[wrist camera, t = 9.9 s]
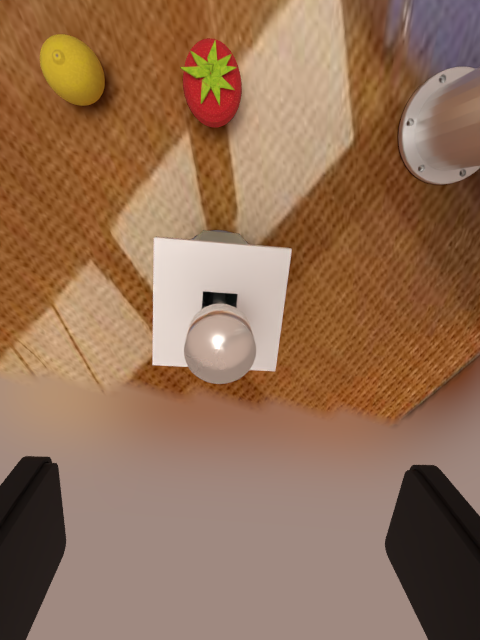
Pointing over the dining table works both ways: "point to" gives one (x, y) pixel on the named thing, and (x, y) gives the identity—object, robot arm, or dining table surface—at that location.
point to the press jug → (217, 290)
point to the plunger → (219, 340)
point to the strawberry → (212, 83)
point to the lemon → (72, 69)
